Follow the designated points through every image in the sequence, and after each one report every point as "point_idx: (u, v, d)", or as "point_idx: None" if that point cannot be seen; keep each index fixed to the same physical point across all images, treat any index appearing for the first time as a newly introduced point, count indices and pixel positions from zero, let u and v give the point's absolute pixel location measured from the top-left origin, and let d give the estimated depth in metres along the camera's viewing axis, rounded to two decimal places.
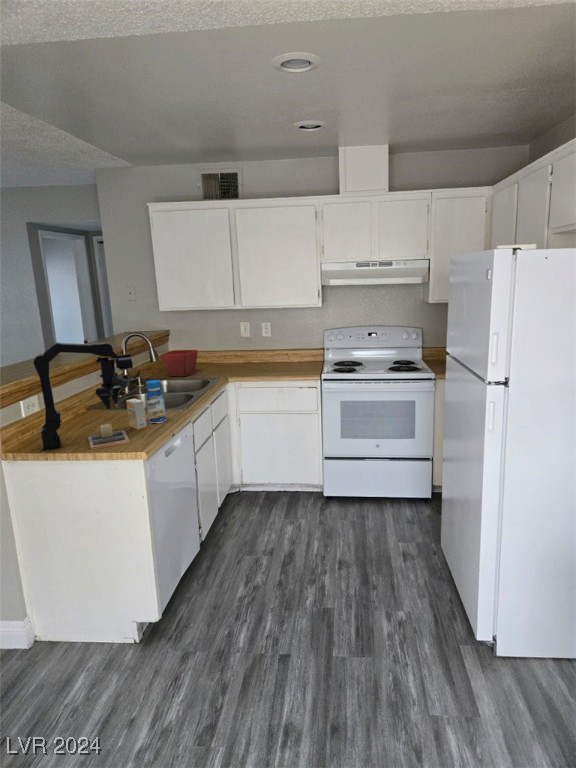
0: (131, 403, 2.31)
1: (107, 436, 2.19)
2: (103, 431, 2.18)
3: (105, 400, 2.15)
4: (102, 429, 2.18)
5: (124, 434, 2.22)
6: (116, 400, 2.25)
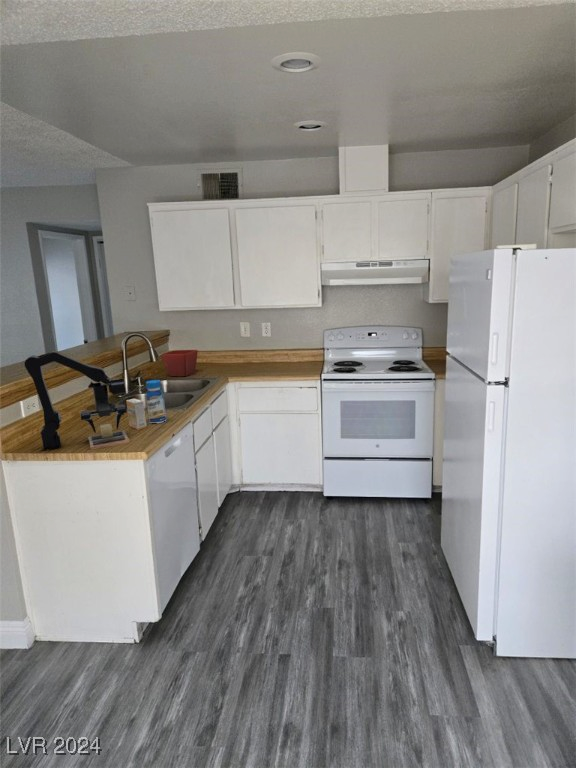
0: (131, 403, 2.31)
1: (107, 436, 2.19)
2: (103, 431, 2.18)
3: (90, 424, 2.18)
4: (102, 429, 2.18)
5: (124, 434, 2.22)
6: (116, 425, 2.22)
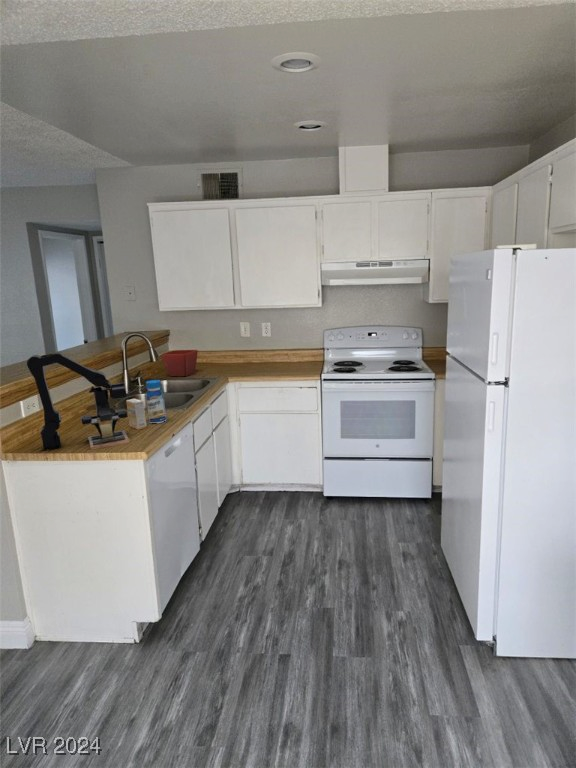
0: (131, 403, 2.31)
1: (107, 436, 2.19)
2: (103, 431, 2.18)
3: (97, 428, 2.20)
4: (102, 429, 2.18)
5: (124, 434, 2.22)
6: None
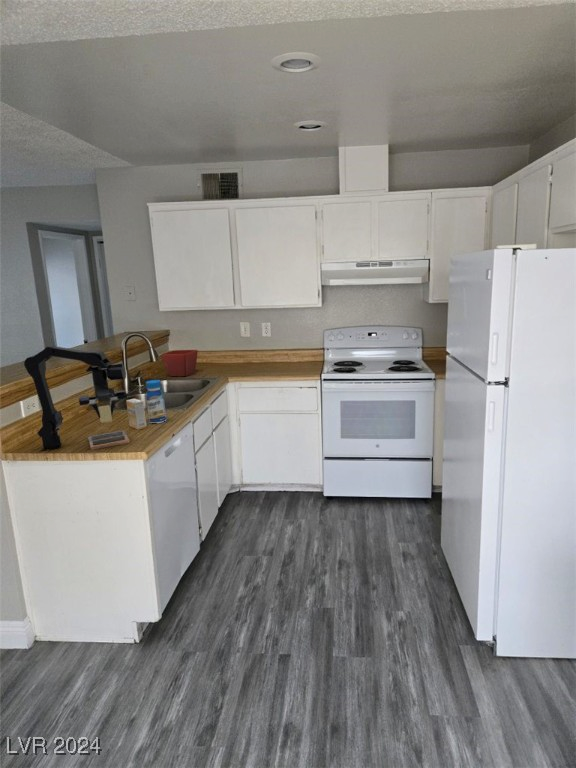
0: (131, 403, 2.31)
1: (106, 418, 2.11)
2: (101, 412, 2.10)
3: (95, 409, 2.11)
4: (100, 410, 2.09)
5: (124, 434, 2.22)
6: None
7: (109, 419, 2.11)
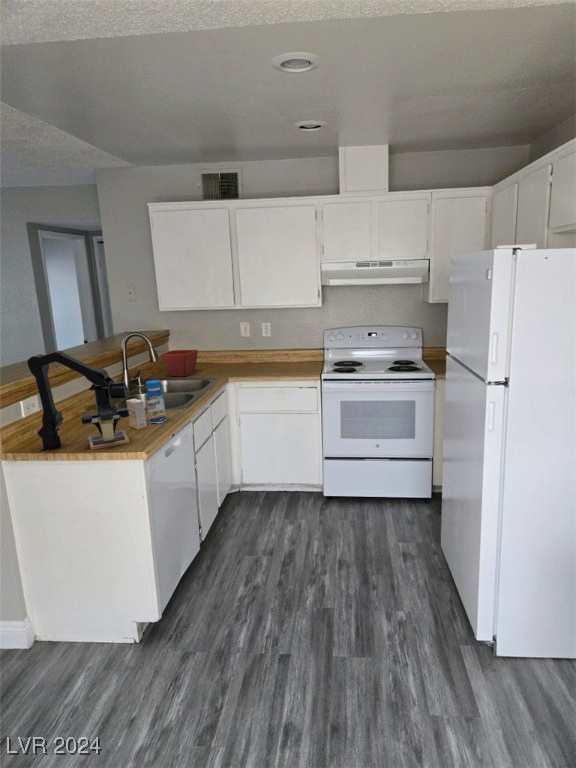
0: (131, 403, 2.31)
1: (108, 436, 2.12)
2: (104, 431, 2.11)
3: None
4: (103, 429, 2.11)
5: (124, 434, 2.22)
6: (113, 430, 2.14)
7: (111, 437, 2.13)
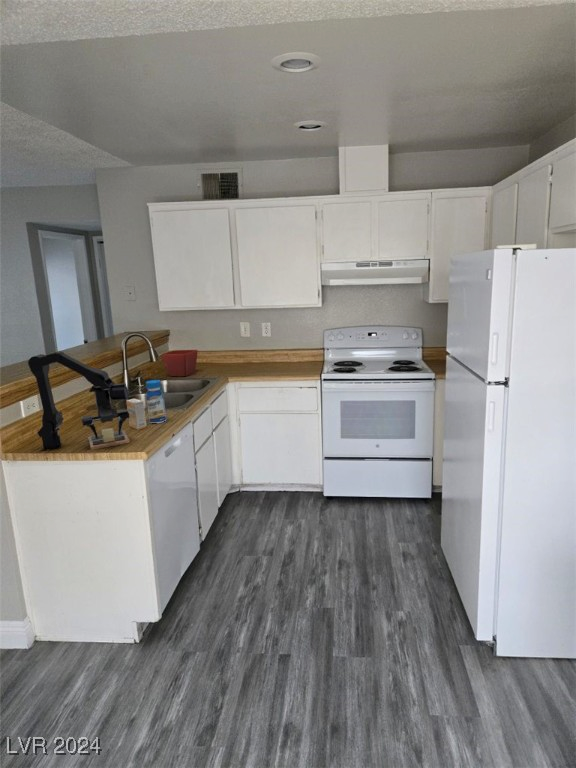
0: (131, 403, 2.31)
1: (109, 441, 2.12)
2: (105, 436, 2.11)
3: None
4: (104, 434, 2.11)
5: (124, 434, 2.22)
6: (118, 431, 2.15)
7: None
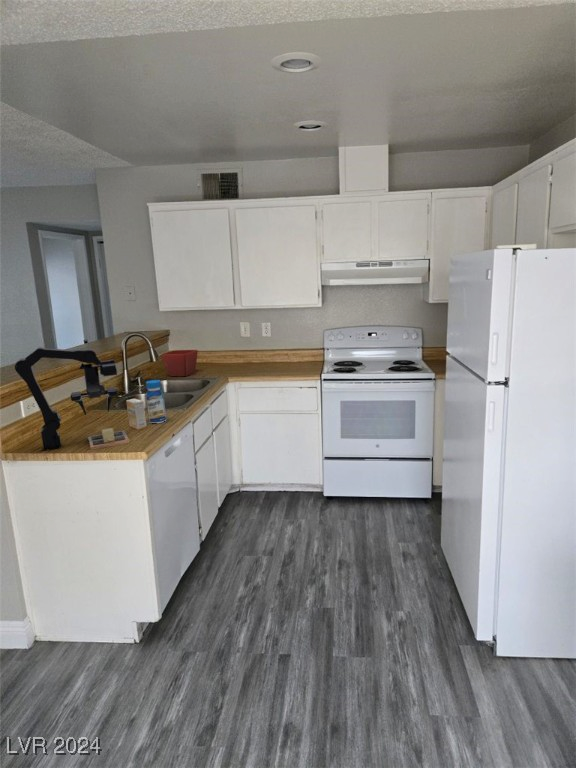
0: (131, 403, 2.31)
1: (109, 441, 2.12)
2: (105, 436, 2.11)
3: None
4: (103, 434, 2.11)
5: (124, 434, 2.22)
6: (107, 407, 2.20)
7: None
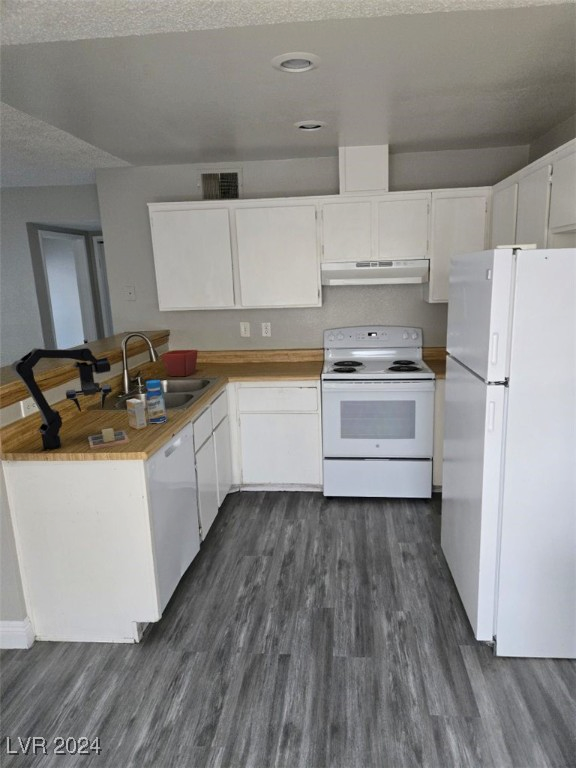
0: (131, 403, 2.31)
1: (109, 441, 2.12)
2: (105, 436, 2.11)
3: (76, 403, 2.22)
4: (103, 434, 2.11)
5: (124, 434, 2.22)
6: (101, 404, 2.25)
7: None
